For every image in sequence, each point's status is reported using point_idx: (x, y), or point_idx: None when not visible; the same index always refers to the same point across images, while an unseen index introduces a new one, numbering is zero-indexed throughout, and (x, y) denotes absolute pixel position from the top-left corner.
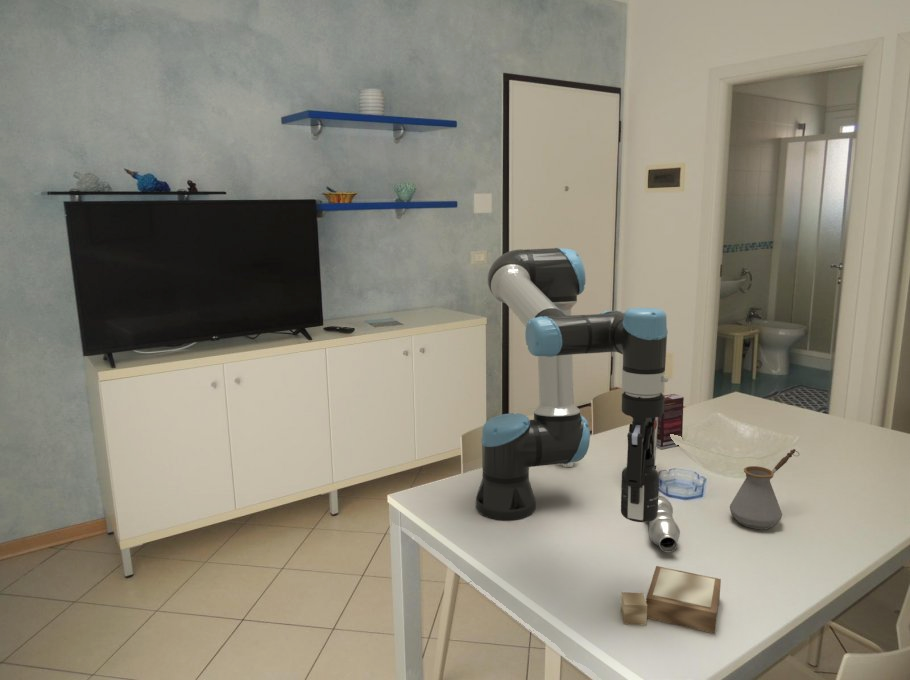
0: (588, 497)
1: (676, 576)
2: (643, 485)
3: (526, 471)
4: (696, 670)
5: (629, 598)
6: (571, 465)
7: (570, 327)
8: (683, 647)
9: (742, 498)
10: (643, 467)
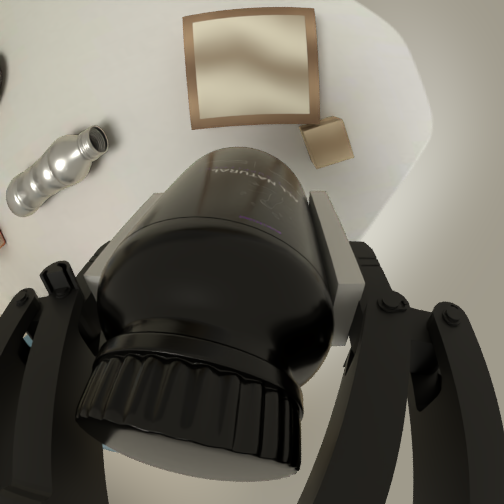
0: None
1: (217, 84)
2: (339, 287)
3: None
4: (405, 49)
5: (332, 152)
6: None
7: None
8: (365, 61)
9: None
10: (387, 413)
